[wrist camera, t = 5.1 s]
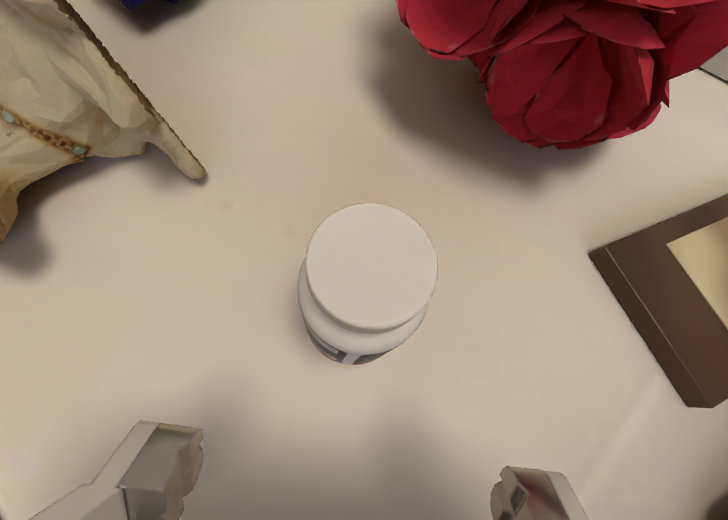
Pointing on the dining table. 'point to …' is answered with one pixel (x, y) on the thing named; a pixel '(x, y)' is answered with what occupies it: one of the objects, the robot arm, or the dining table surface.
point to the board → (678, 296)
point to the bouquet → (572, 59)
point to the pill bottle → (366, 282)
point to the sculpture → (67, 101)
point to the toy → (138, 3)
